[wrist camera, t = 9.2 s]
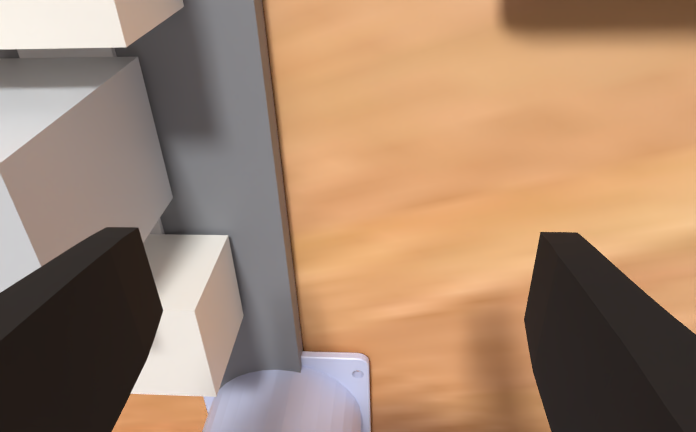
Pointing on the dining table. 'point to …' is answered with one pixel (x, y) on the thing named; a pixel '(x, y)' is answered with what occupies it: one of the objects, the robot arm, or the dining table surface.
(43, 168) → the block
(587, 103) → the dining table surface
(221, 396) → the robot arm
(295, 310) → the rail board
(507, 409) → the dining table surface
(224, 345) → the mounted modules
